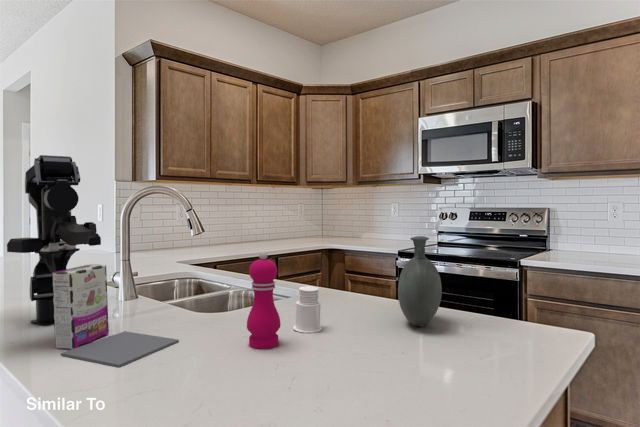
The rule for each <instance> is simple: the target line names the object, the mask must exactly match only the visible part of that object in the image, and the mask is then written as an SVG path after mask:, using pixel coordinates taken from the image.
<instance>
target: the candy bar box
mask: <svg viewBox="0 0 640 427" xmlns="http://www.w3.org/2000/svg"><path fill="white" fill-rule="evenodd" d="M107 274H108V273H107V264H96V263H95V264H94V263H91V264H86V265H81V266H77V267H76V266H75V267H71V268H66V270H62V271H57V272H53V273H52V279H53V302H54V345H55V349H57V350H71V349H74V348H77V347H80V346H83V345H86V344H89V343H92V342H95V341H98V340H100V339H101V338H103V337H105V336H107V335H109V334H110V333H109V305H108V279H107Z"/></svg>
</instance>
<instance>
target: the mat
mask: <svg viewBox="0 0 640 427" xmlns="http://www.w3.org/2000/svg"><path fill="white" fill-rule="evenodd" d="M179 342H180V340H179V339H176V338H170V337H164V336H157V335H152V334H146V333H138V332H132V331H126V330H124V331H121V332H119V333H116V334H113V335H110V336H107V337H104V338H102V339H101V338H100V339H97V340H94V341H92V342H90V343H88V344H86V345H83V346H80V347H77V348H74V349H71V350H70V349H68V350H66V351H62V352H61V353H60V356H61V357H65V358H71V359H75V360H81V361H84V362H85V361H87V362H90V363H96V364H101V365H106V366H110V367H116V368H121V367H123V366H126V365H129V364H131V363H133V362H135V361H138V360H140V359H142V358H144V357H147V356H149V355H151V354H154V353H156V352H159V351H161V350H163V349H165V348H168V347H170V346H173V345H175V344H178V343H179Z"/></svg>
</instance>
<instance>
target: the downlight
mask: <svg viewBox="0 0 640 427" xmlns="http://www.w3.org/2000/svg"><path fill="white" fill-rule="evenodd" d="M298 292H299V293H298V300H296V302H295V304H296V305H295V308H296V309H295V324H294V325H293V328H292V329H293V331H296V332H298V333H301V334H303V333H304V334H314V333H319V332H321V331H322V330H323V326H322V325H321V301H319V287H316V286H307V285H305V286H301V287H299V288H298Z"/></svg>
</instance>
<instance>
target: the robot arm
mask: <svg viewBox="0 0 640 427" xmlns="http://www.w3.org/2000/svg"><path fill="white" fill-rule="evenodd" d="M80 174H81V173H80V171H79V167H78V166H77V163H76V161H73V158H72V157H71V156H63V155H45V154H44V155H43V154H41V155H38V157H35V158H34V161H33V165H32V166H31V167H30V168H29V169H28V170H26V171H25V175H24V176H25V177H24V193H25V194H27V197H28V203H30V205H31V206H32V207H33V208H34V210H36V211H35V213H36V226H37V229H36V230H37V237H18V238H17V237H16V238H10V239H9V241H8V242H7V243H6V252H7V253H18V254H19V253H21V254H29V253H34V254H38V258H39V259H38V260H39V261H38V262H37V263H36V265H35V267H34V269H33V271H32V272H33V273H32V276H30V280H29V299H30V301H31V302H34V301H35V310H36V313H35V315H36V319H33V320H30V323H31V324H37V325H41V326H42V325H43V326H49V325H53V324H54V302H53V279H52V273H53V272H57V271H62V270H66V269H67V266H68V263H69V262H70V259H71V257H72V256H73V255H74V254H75V253H77V252H79V251H80V249H81V248H77V246H79V245H88V246H90V247H93V246H101V244H102V238H101V236H100V235H99V233H98V232H97V231H98V230H97V224H96V223H95V222H93V221H90V222H89V221H87V222H84V223H81V224H80V223H77V217H76V215H72V210H73V209H75V208H76V207H77V205H78V203H79V199H80V198H79V194H78V192H77V190H75V189H74V187H72V186H79V183H80V182H81V176H80Z"/></svg>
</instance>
